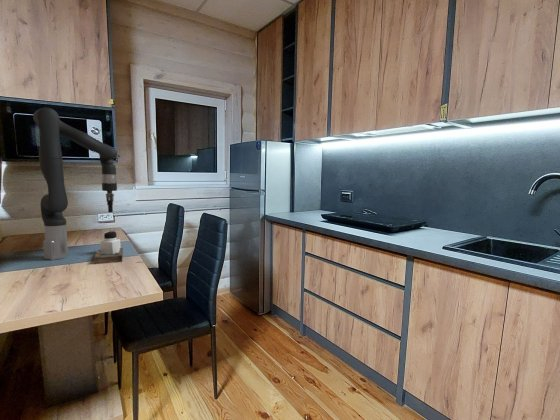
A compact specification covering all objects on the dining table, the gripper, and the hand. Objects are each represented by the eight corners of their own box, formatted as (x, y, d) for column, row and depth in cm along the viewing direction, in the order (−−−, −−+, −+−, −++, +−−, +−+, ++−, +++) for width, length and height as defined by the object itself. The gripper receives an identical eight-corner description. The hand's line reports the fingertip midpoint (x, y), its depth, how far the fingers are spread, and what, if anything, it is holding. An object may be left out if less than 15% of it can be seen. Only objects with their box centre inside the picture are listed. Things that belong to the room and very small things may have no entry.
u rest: (98, 255, 162) (97, 249, 161) (122, 253, 167) (122, 247, 167) (94, 264, 146) (94, 258, 145) (122, 261, 151) (121, 255, 151)
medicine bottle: (120, 251, 170) (120, 231, 169) (112, 254, 163) (112, 233, 162) (109, 251, 171) (108, 230, 169) (100, 254, 164) (99, 232, 162)
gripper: (102, 182, 175) (104, 211, 177) (100, 182, 164) (102, 213, 166) (117, 182, 179) (118, 210, 181) (116, 182, 167) (117, 213, 169)
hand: (110, 212), depth 173 cm, fingers closed
